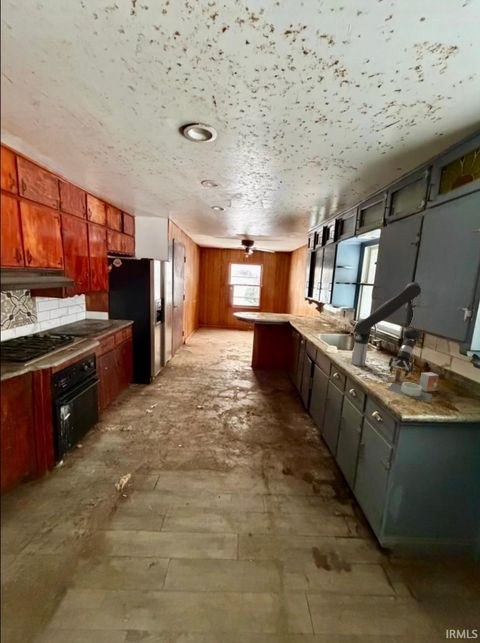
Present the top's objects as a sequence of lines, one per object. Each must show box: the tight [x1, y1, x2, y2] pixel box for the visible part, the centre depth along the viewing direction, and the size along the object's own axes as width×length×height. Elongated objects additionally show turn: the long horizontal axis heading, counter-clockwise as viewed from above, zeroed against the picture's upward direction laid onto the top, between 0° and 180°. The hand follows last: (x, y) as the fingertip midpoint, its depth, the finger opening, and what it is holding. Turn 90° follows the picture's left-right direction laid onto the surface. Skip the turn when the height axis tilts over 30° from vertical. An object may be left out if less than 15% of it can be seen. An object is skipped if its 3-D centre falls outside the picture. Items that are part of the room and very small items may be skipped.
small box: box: [418, 371, 440, 392], centre depth 179 cm, size 8×6×10 cm
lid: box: [386, 369, 408, 386], centre depth 190 cm, size 12×12×8 cm
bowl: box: [401, 381, 423, 397], centre depth 172 cm, size 10×10×5 cm
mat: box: [386, 383, 433, 403], centre depth 174 cm, size 22×14×1 cm, turn 48°
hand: (398, 374), depth 189 cm, fingers open, 8 cm apart
